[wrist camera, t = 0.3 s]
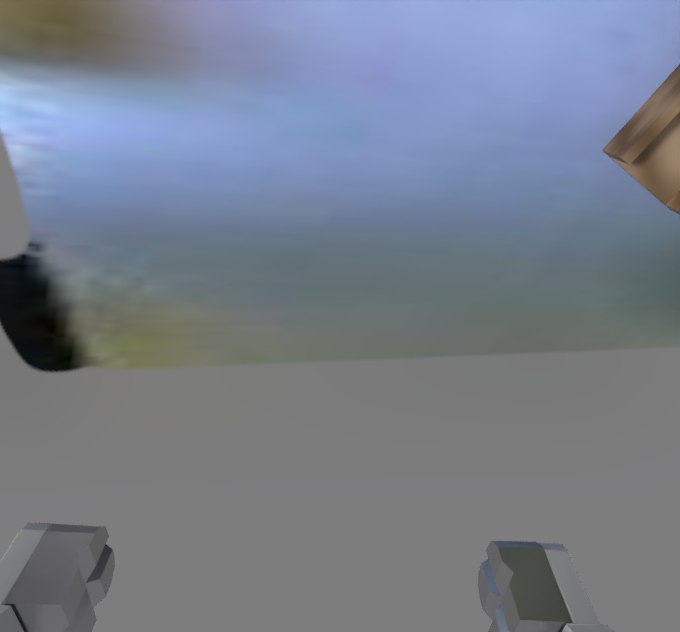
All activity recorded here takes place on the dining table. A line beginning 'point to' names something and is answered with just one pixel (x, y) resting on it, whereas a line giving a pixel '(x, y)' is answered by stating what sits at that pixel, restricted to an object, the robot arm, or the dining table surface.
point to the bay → (654, 144)
